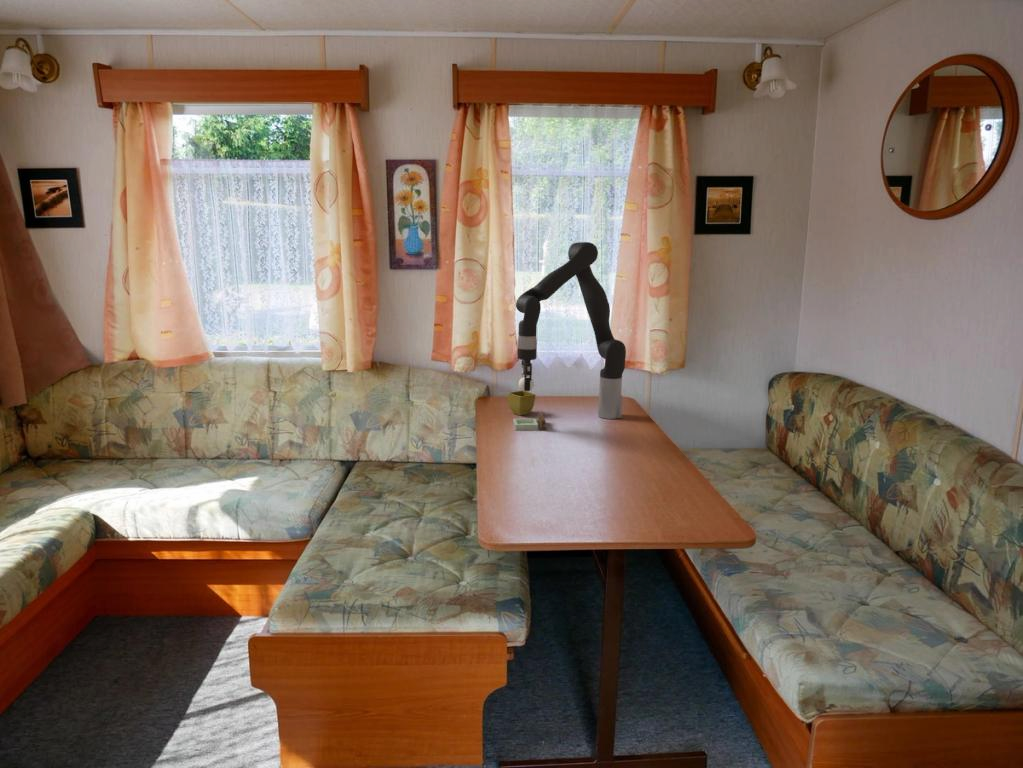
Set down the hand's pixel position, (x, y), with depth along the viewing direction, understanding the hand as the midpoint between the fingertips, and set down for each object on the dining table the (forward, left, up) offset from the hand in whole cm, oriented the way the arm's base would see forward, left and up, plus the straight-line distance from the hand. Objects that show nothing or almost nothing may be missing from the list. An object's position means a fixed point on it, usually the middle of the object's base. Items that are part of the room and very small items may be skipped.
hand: (526, 388), depth 269 cm
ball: (0, 0, -1) cm, 1 cm away
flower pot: (-1, -20, -16) cm, 26 cm away
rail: (-7, -1, -16) cm, 17 cm away
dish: (0, 0, -16) cm, 16 cm away
